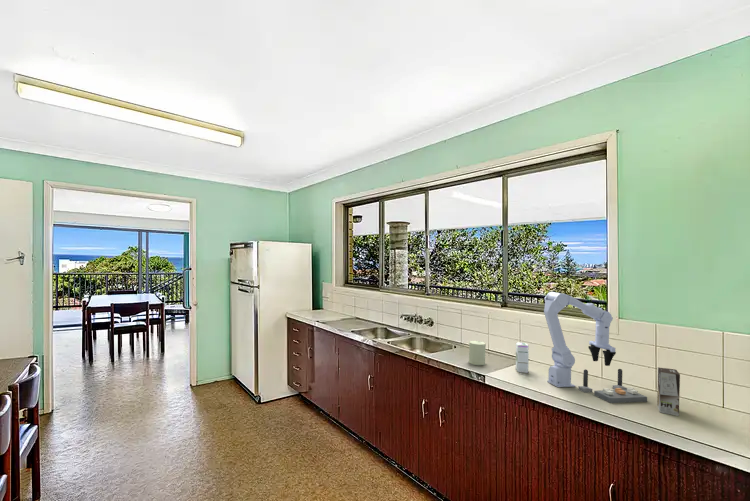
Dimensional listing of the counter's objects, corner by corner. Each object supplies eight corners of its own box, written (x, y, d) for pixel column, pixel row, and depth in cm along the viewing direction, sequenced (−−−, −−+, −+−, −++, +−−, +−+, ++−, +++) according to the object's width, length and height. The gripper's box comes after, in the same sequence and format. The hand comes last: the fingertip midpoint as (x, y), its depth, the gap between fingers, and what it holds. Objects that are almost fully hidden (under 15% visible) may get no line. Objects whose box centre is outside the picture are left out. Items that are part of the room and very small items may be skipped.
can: (487, 362, 215) (488, 341, 215) (482, 366, 207) (483, 344, 208) (471, 359, 220) (472, 339, 220) (466, 363, 212) (466, 341, 212)
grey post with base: (619, 391, 173) (619, 370, 173) (612, 388, 177) (613, 367, 177) (627, 391, 174) (627, 370, 174) (620, 388, 178) (620, 367, 178)
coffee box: (679, 416, 146) (680, 374, 147) (659, 412, 150) (659, 371, 150) (676, 409, 154) (677, 369, 154) (656, 405, 158) (657, 366, 158)
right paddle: (632, 394, 164) (633, 390, 164) (626, 391, 167) (626, 387, 167) (637, 393, 164) (637, 390, 164) (631, 391, 167) (631, 387, 167)
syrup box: (528, 373, 198) (529, 345, 198) (516, 371, 199) (517, 344, 199) (526, 369, 203) (527, 342, 203) (515, 368, 204) (515, 342, 205)
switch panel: (610, 403, 158) (610, 398, 158) (594, 395, 167) (594, 390, 167) (647, 401, 161) (647, 396, 161) (629, 394, 170) (629, 389, 170)
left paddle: (608, 394, 162) (608, 391, 162) (602, 392, 165) (603, 388, 165) (613, 394, 162) (613, 390, 162) (607, 392, 165) (607, 388, 165)
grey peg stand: (584, 392, 170) (585, 370, 170) (578, 389, 174) (578, 368, 174) (592, 392, 171) (592, 370, 171) (586, 389, 175) (586, 368, 175)
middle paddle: (620, 394, 163) (620, 390, 163) (614, 391, 166) (615, 388, 166) (625, 394, 163) (625, 390, 163) (619, 391, 166) (619, 388, 166)
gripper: (621, 338, 177) (620, 367, 177) (598, 332, 191) (597, 359, 191) (608, 338, 176) (607, 367, 175) (585, 332, 190) (584, 359, 190)
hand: (601, 363), depth 183 cm, fingers open, 7 cm apart
